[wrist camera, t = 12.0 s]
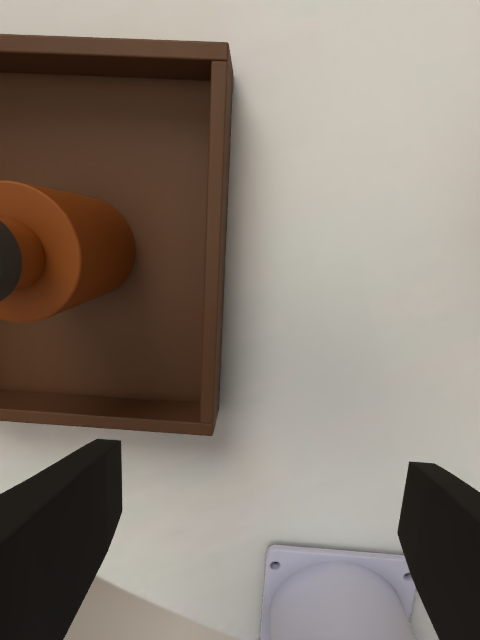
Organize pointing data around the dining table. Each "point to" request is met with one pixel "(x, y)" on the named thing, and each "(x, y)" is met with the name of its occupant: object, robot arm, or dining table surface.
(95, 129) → the tray
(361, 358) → the dining table surface
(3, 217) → the bottle
